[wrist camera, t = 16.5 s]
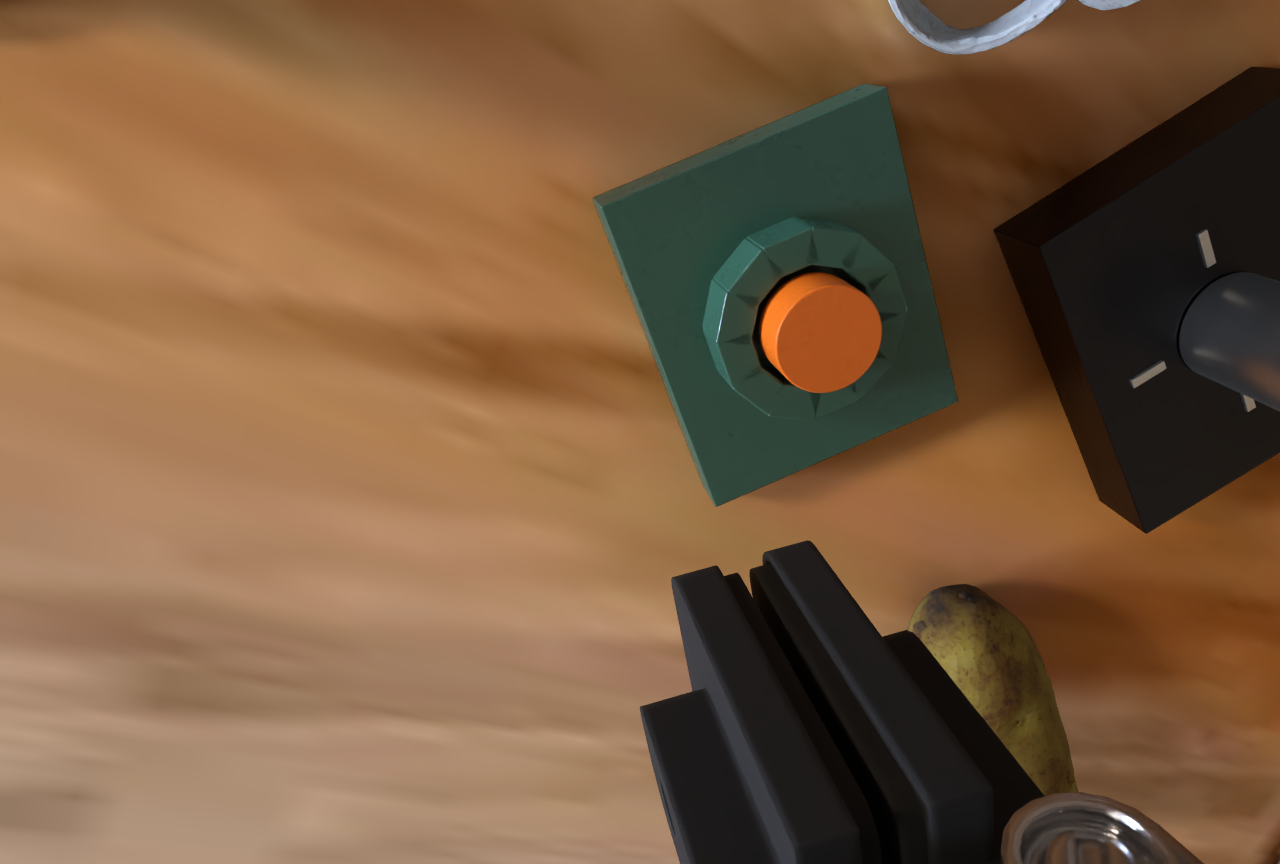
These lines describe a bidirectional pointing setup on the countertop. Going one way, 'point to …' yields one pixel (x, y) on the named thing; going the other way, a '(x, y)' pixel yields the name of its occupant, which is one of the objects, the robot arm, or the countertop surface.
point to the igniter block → (758, 265)
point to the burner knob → (1236, 335)
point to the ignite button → (820, 332)
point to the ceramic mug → (985, 37)
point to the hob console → (1156, 297)
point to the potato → (999, 678)
